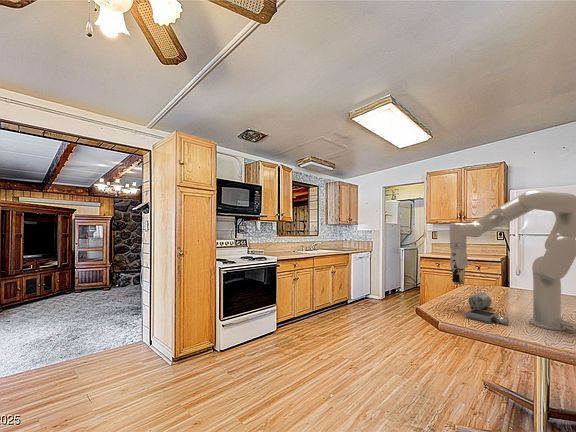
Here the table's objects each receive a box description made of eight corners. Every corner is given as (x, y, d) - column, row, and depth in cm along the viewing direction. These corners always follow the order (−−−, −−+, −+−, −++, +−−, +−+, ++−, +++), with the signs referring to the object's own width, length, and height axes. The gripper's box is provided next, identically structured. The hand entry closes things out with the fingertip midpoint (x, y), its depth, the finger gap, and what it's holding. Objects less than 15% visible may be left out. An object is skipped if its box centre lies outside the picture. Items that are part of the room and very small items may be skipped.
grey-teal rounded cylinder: (484, 306, 151) (477, 287, 157) (466, 310, 158) (461, 292, 164) (499, 310, 157) (492, 291, 162) (482, 314, 164) (476, 296, 169)
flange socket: (511, 323, 136) (511, 316, 136) (504, 327, 130) (504, 320, 130) (474, 314, 148) (474, 307, 148) (465, 317, 142) (465, 311, 142)
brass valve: (466, 283, 151) (465, 267, 152) (461, 284, 148) (461, 268, 149) (455, 281, 156) (455, 266, 156) (451, 282, 152) (450, 267, 153)
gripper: (458, 247, 144) (459, 284, 144) (472, 246, 155) (473, 280, 154) (443, 246, 150) (443, 282, 150) (457, 245, 161) (457, 278, 160)
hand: (458, 281), depth 152 cm, fingers closed on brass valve, 5 cm apart
